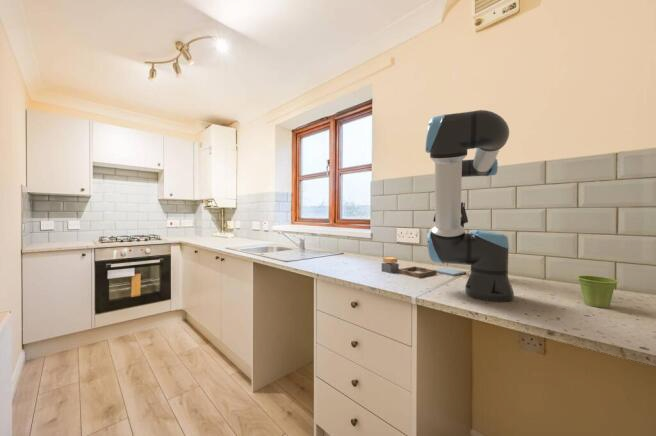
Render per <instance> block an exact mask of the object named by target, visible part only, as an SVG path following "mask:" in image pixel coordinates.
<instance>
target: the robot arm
mask: <svg viewBox="0 0 656 436" xmlns="http://www.w3.org/2000/svg"><path fill="white" fill-rule="evenodd" d="M509 137H510V128H509V125H508V123H507V122H506V121H505V119H504V118H503V117H502V116H501V115H499V114H497V113H496V112H493V111H491V110H484V109H480V110H474V111H464V112H458V113H457V112H456V113H449V114H448V113H447V114H442V115H437V116H433V117H432V118H430V120H429V122H428V126H427V130H426V139H425V149H424V150H425V153H427V154H429V158H430V160H432V161H433V162H434V192H435V193H434V198H435V199H434V202H435V203H434V204H435V206H434V207H435V209H434V210H435V212H434V217H433V220H432V221H433V223H434V225H433V226H432V227H431V229H430V231H429V232H427V235H426V242H427V250H428V251H427V252H428V255H429V258H430V260H431V261H432V262H433V263H441V264H453V265H463V266H464V265H467V266H470V273H469V277H468V278H467V281H466V284H465V286H464V287H465V289H464V291H465V294H466V295H467V296H469V297H472V298H475V299H480V300H484V301H491V302H511V301H513V300H514V299H515V297H514V296H515V293H514V289H513V285H512V284H511V280H510V278H509V249H510V246H509V238H508V236H507V235H505V234H504V233H500V232H493V231H487V230H481V229H479V230H478V229H471V231H470V233H468V232H467V233H466V229H465V224H468V223H469V219H468V215H467V210H466V202H462V178H467V177H471V178H472V177H489V176H495V175H496V174H497V173H498V165H499V163H498V159H497V156H498V154H499V152H500V150H501V149H502V148H504V146H505V145H506V144H507V142H508V139H509ZM472 149H473V150H474V149H475V152H474V158H472V159H465V158H466V157H467V156H468V150H472Z"/></svg>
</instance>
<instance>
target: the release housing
mask: <svg viewBox="0 0 656 436" xmlns="http://www.w3.org/2000/svg"><path fill="white" fill-rule="evenodd" d="M399 265H400V263H398V262H396V263H392V264H388V263H386V262H382V263H381V272H385V273H389V274H392V273H398V269H400V268H399Z"/></svg>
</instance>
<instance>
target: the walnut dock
mask: <svg viewBox="0 0 656 436" xmlns="http://www.w3.org/2000/svg"><path fill="white" fill-rule="evenodd" d="M397 273H398V274H402V275H405V276H409V277H414V278H419V279H420V278H424V277H430V276H433V275H437V273H436V269H430V268H426V267H421V266H420V267H419V266H409V267H404V268H399V269H398V272H397Z"/></svg>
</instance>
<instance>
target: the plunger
mask: <svg viewBox="0 0 656 436" xmlns="http://www.w3.org/2000/svg"><path fill="white" fill-rule="evenodd" d="M382 263H388V264H392V263H398V257H393V256H388V257H387V256H386V257H383V258H382Z"/></svg>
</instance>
